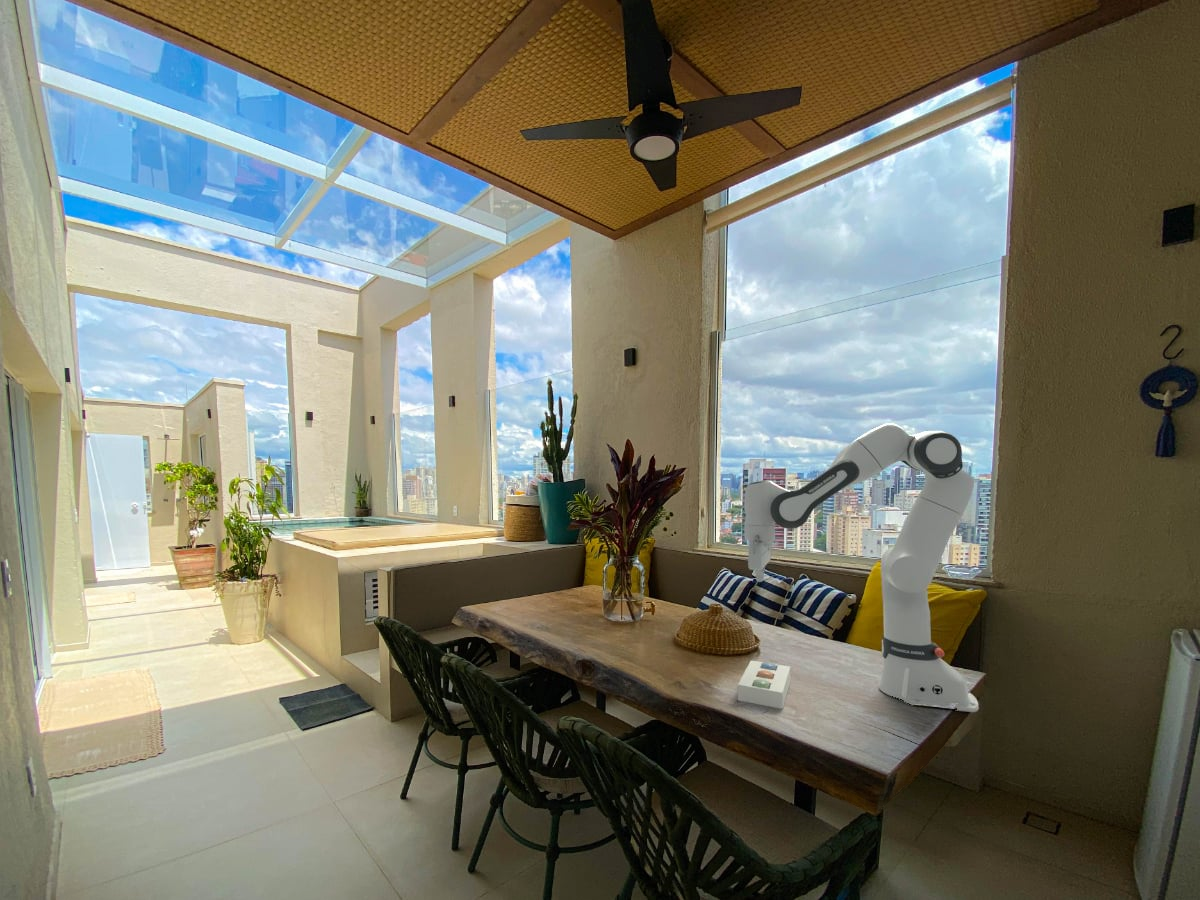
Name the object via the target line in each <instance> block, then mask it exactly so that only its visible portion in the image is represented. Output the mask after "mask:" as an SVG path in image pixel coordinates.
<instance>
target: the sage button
mask: <svg viewBox="0 0 1200 900" xmlns="http://www.w3.org/2000/svg"><path fill="white" fill-rule="evenodd" d="M754 686H755V687H760V688H766V689H769V682H768V681H766V680H763V679H756V680H754Z"/></svg>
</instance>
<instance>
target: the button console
mask: <svg viewBox="0 0 1200 900" xmlns="http://www.w3.org/2000/svg"><path fill="white" fill-rule="evenodd" d="M762 663H764V662H763V661H757V660H750V662H749V663H748V665H747V667H746V668H745V671H744V672H743V674H742V676H741V678H740V680H739V682H737V683H738V684H737V701H739V702H744V703H750V704H755V705H758V706H765V707H769V708H770V707H771V708H775V709H780V710H783V709H784V705H785V703H786V702H785V701H786V699H787V694H788V693H789V688H790V684H791V676H792V675H791V674H792V673H791V666H788V665H781V664H776V663H774V664H775V665H776V671H775V670H768V669H762ZM761 670H765V671H770V672H771V673H772V677H774V678H772V679H767V678H761V677H758V672H759V671H761ZM756 679H763V680H766V681H768V682H769V686H770V687H769V689H766V688H760V687H755V686H754V680H756Z"/></svg>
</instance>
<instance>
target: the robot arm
mask: <svg viewBox="0 0 1200 900" xmlns="http://www.w3.org/2000/svg"><path fill="white" fill-rule="evenodd" d="M898 462H902V463H903V464H905V465H906V466H908V467H909V468H911V469H913V470H917V471H919V472H920V471H921V472H923V474H924V484H923V486H922V488H921V490H920V492H919V493H918V495H917V496H916V499H915V501H914V503H913V505H912V506H911V508H910V510H909V512H908V514H907V515H906V517H905V519H904V521H903V524H902V526H901V529H900V531H899V534H898V536H897V539H896V540H895V543H894V545H893V546H891V547H889V548H888V549H886V550H885V551H884V552H883V554H882V556H881V559H880V573H881V574H880V575H881V576H880V578H881V579H880V580H881V595H882V607H883V608H882V609H883V610H882V611H883V635H882V638H881V639H882V640H881V654H882V657H883V659H882V669H881V674H880V678H879V682H878V686H877V687H878V689H879V690H880V691H881V692H883V693H884V694H886V695H887V696H890V697H892V696H893V697H892V698H895V697H896V699H897V698H899V699H898V700H900V699H902V700H904V701H905V702H907V703H911V704H926V705H940V706H949V705H950V704H951V703H958V704H957V706H955V707H956V708H957V710H956V711H957V712H958V711H959V712H968V713H976V712H978V711H979V709H980V707H979V701H978V700H977V698H976V696H974V695H973V694H972V693H971V692H969V691H968V689H967V684H966V682H965V680H964V678H963V676H962V675H961V674H960V673H959V672H958V671H957V670H955V669H954V667H952V666H951V665H949V664H948V663H947V662H946V661H945V660H943V659H942V658H943V657H945V652H944V650H943V649H942V648H941V647H940V646H939V645H938V644H936V643H935V642H933V641H932V639H931V638H932V637H931V635H932V634H931V611H930V606H929V598H928V597H929V596H928V590H927V589H928V588H929V586H930V585H931V584H932V581H933V578H934V576H935V573H936V571H937V570H938V567H939V564H940V562H941V560H942V559H943V554H944V552H945V550H946V547H947V544H948V542H949V540H950V538H951V536H952V535H953V533H954V531H955V529H956V528H957V525H958V524H959V522H960V520H961V519H962V516H963V515H964V513H965V511H966V509H967V506H968V505H969V502H970V499H971V497H972V494H973V490H974V486H975V480H974V478H973V477H972V475H971V474H969V472H967V471H965V470H964V469H963V466H964V465H963V450H962V445H961V443H960V441H959V440H958V438H957V437H955V436H954V435H953V434H951V433H950V432H949V433H948V432H947V431H943V430H928V431H922V432H920V433H914V434H910V433H907V431H906V430H904V428H903V427H901V426H900V425H898V424H895V423H891V422H890V423H889V422H888V423H884V424H882V425H880V426H877V427H875V428H873V429H871V430H869V431H868V432H866V433H864V434H862V435H861V436H859V437H857V438H856V439H855V440H853V441H852V442H850V443H849V444H848V445H847V446H845V447H844V448H843V449H842V450H841V451H840V453H838V454H837V456H836V457H835V458H834V460H833V461H832V463H831V465H830V466H829V467H828V468H827V469H826V470H825V471H824V472H823V473H821V474H820V475H818V476H816V478H814V479H812V480H811V481H810V482H808V483H807V484H806V485H804V486H802V487H801V488H798V489H796V490H793V491H792V490H790V489H789V490H788V489H785V488H784V487H782V486H780V485H778V484H776V483H775V482H774V481H772V480H769V479H767V480H760V481H759V480H758V481H754V482H750V483H749V484H748V485H747V486H746V488H745V491H744V509H743V510H744V513H745V519H744V524H743V525H744V526H743V527H744V529H743V530H744V532H743V533H744V540H745V541H748V554H747V555H748V557H747V566H748V569H749V570H750V571H751V570H752V571H754V572H755V580H756V582H760V583H762V582H763V581H764V580H765V570H766V566H767V564H768V563H770V562H771V560H772V559H771V558H772V549H773V542H775V541H776V524H777V525H778V526H779V527H781V528H783V529H788V530H794V529H798V528H800V527H801V526H803V525H804V524H805V523H806V522H807V521H808V519H809V518H810V515H811V514H812V512H813V511H814V510H815V509H816V508H817V507H818V506H820V505H821V504H823V503H824V502H825V501H827V500H829V498H832V497H833V496H834V495H836V494H837V493H839V492H840V491H841V490H843V489H847V488H849V487H851V486H854V485H857V484H859V483H862V482H865V481H867V480H869V479H871V478H873V477H875V476H877V475H878V474H880V473H881V472H883V471H884V470H886V469H887V468H888V467H890V466H891V465H893V464H894V465H895V464H896V463H898ZM967 691H968V692H969V693H968V692H967ZM902 700H901V701H902ZM905 702H904V703H905ZM907 703H906V704H907ZM949 703H950V704H949Z"/></svg>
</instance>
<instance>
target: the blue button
mask: <svg viewBox="0 0 1200 900" xmlns="http://www.w3.org/2000/svg"><path fill="white" fill-rule="evenodd" d="M775 664H776V663H773V662H767V661H766V662H764V663H762V669H768V670H775V671H776V665H775ZM772 678H774V677H772Z"/></svg>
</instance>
